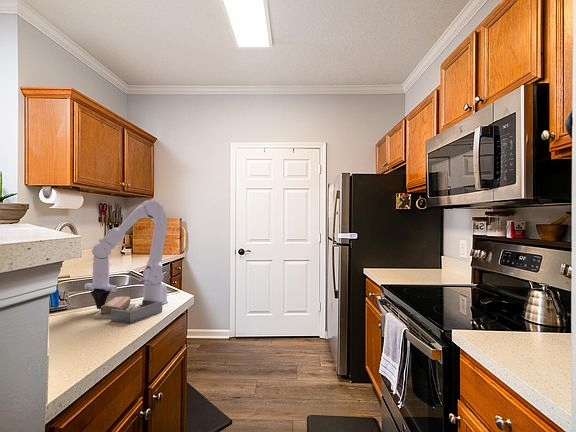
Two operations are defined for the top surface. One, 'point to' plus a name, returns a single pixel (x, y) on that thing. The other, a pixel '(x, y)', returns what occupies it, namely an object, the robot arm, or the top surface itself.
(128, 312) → the dark grey slab
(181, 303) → the top surface
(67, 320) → the top surface
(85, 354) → the top surface
